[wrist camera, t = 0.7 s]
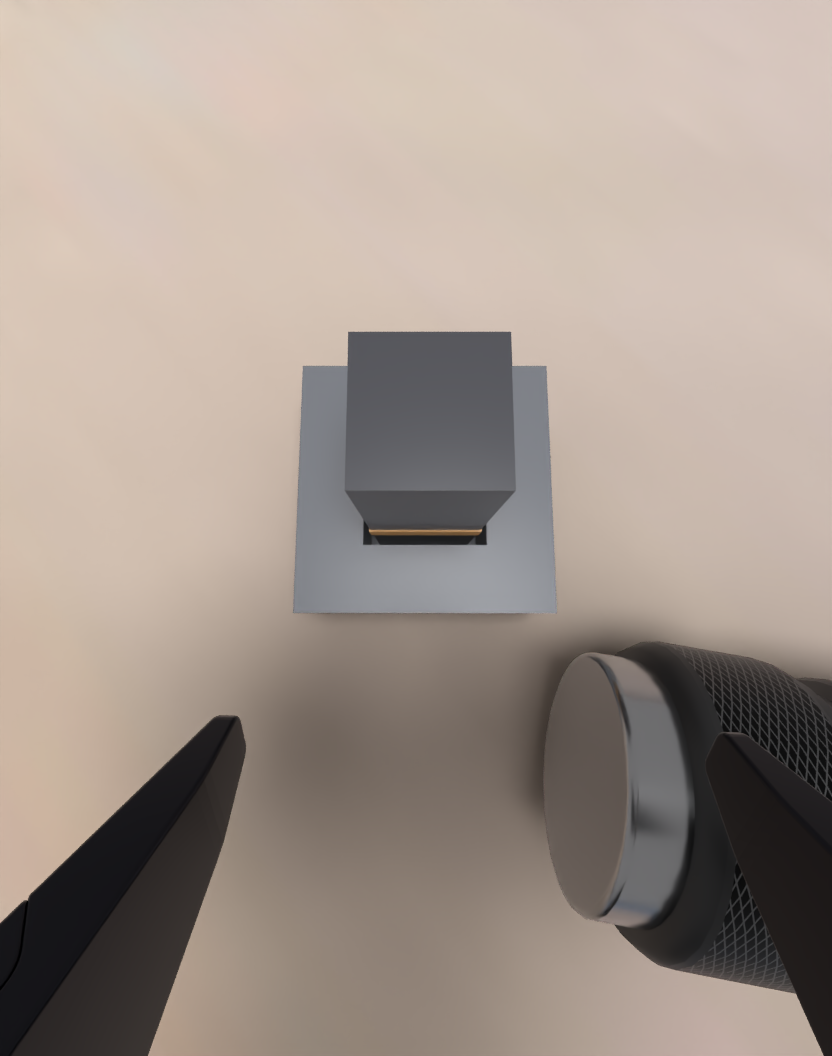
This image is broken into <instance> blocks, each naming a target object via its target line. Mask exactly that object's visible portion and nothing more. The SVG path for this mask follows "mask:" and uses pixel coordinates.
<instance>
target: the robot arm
mask: <svg viewBox="0 0 832 1056" xmlns="http://www.w3.org/2000/svg"><path fill="white" fill-rule="evenodd" d="M245 752H246V743H245V739H244V734H243V730H242V725H241V721H240V719H239V717H238V716H230V715H219V716H216V717H214V718H213V719H212V720H211V721H210V722H209V723H208V724H207V725H206V726H205V727H203V728H202V729H201V730H200V731H199V732H198V733H197V734H196V735H195V736H194V737H193V738H192V739H191V740H190V741H189V742H188V743H187V744H186V745H185V746H184V747H183V748H182V749H181V750H180V751H179V752H178V753H177V754H175V755H174V756H173V757H172V758H171V759H170V760H169V761H168V762H167V763H166V764H165V765H164V766H163V767H162V768H161V769H160V770H159V771H158V772H157V773H156V774H155V775H154V776H153V777H152V778H151V779H150V780H149V781H147V782H146V783H145V784H144V785H143V786H142V787H141V788H140V789H139V790H138V791H137V792H136V793H135V794H134V795H133V796H132V797H131V798H130V799H129V800H128V801H127V802H126V803H125V804H124V805H123V806H122V807H120V808H119V809H118V810H117V811H116V812H115V813H114V814H113V815H112V816H111V817H110V818H109V819H108V820H107V821H106V822H105V823H104V824H103V825H102V826H101V827H100V828H99V829H98V830H97V831H96V832H95V833H94V834H92V835H91V836H90V837H89V838H88V839H87V840H86V841H85V842H84V843H83V844H82V845H81V846H80V847H79V848H78V849H77V850H76V851H75V852H74V853H73V854H72V855H71V856H70V857H69V858H68V859H67V860H66V861H64V862H63V863H62V864H61V865H60V866H59V867H58V868H57V869H56V870H55V871H54V872H53V873H52V874H51V875H50V876H49V877H48V878H47V879H46V880H45V881H44V882H43V883H42V884H41V885H40V886H39V887H37V888H36V889H35V890H34V891H33V892H32V893H31V894H30V896H29V898H28V901H27V900H25V901H23V902H22V903H21V904H20V905H19V906H18V907H16V908H15V909H14V910H13V911H12V912H11V913H10V914H9V915H8V916H7V917H6V918H5V919H4V920H3V921H2V922H1V923H0V1056H148V1054H149V1051H150V1048H151V1045H152V1042H153V1040H154V1037H155V1034H156V1031H157V1028H158V1026H159V1023H160V1020H161V1017H162V1014H163V1012H164V1009H165V1006H166V1003H167V1000H168V998H169V995H170V992H171V989H172V986H173V984H174V981H175V978H176V975H177V972H178V969H179V967H180V964H181V961H182V958H183V955H184V953H185V950H186V947H187V944H188V941H189V939H190V936H191V933H192V930H193V927H194V925H195V922H196V919H197V916H198V913H199V911H200V908H201V905H202V902H203V899H204V896H205V894H206V891H207V888H208V885H209V882H210V880H211V877H212V874H213V871H214V868H215V866H216V863H217V860H218V857H219V854H220V851H221V848H222V845H223V842H224V838H225V834H226V831H227V827H228V823H229V819H230V815H231V811H232V806H233V802H234V798H235V794H236V790H237V786H238V782H239V778H240V774H241V770H242V766H243V762H244V758H245ZM705 769H706V774H707V777H708V780H709V783H710V786H711V788H712V791H713V794H714V797H715V800H716V803H717V806H718V809H719V812H720V815H721V818H722V820H723V823H724V826H725V829H726V832H727V835H728V838H729V841H730V844H731V847H732V849H733V852H734V855H735V857H736V860H737V862H738V865H739V867H740V869H741V872H742V874H743V876H744V879H745V881H746V883H747V885H748V888H749V890H750V892H751V894H752V897H753V899H754V901H755V903H756V905H757V908H758V910H759V912H760V914H761V917H762V919H763V921H764V923H765V926H766V928H767V930H768V932H769V934H770V937H771V939H772V941H773V943H774V946H775V948H776V950H777V952H778V955H779V957H780V959H781V961H782V963H783V966H784V968H785V970H786V972H787V975H788V977H789V979H790V981H791V984H792V986H793V988H794V990H795V993H796V995H797V997H798V999H799V1001H800V1004H801V1006H802V1008H803V1010H804V1013H805V1015H806V1017H807V1019H808V1022H809V1024H810V1026H811V1028H812V1030H813V1033H814V1035H815V1037H816V1039H817V1042H818V1044H819V1046H820V1048H821V1051H822V1053H823V1055H824V1056H832V801H830V800H829V799H828V798H827V797H825V796H824V795H823V794H821V793H820V792H819V791H818V790H816V789H815V788H814V787H813V786H811V785H810V784H809V783H807V782H806V781H805V780H804V779H802V778H801V777H800V776H799V775H797V774H796V773H795V772H793V771H792V770H791V769H790V768H788V767H787V766H786V765H785V764H783V763H782V762H781V761H779V760H778V759H777V758H776V757H774V756H773V755H772V754H771V753H769V752H768V751H767V750H765V749H764V748H763V747H762V746H760V745H759V744H758V743H757V742H755V741H754V740H753V739H751V738H750V737H749V736H747V735H745V734H743V733H737V732H721V733H720V734H718V735H717V737H716V739H715V741H714V743H713V745H712V747H711V749H710V751H709V753H708V755H707V757H706V760H705Z"/></svg>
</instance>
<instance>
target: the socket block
mask: <svg viewBox="0 0 832 1056" xmlns="http://www.w3.org/2000/svg"><path fill="white" fill-rule="evenodd" d="M347 371H348V366H303V378H302V404H301V429H300V455H299V480H298V505H297V531H296V556H295V581H294V607H293V613H557V604H556V580H555V557H554V534H553V511H552V487H551V464H550V441H549V418H548V394H547V371H546V366H512V380H513V412H514V444H515V476H516V491H515V492H514V493H513V495H512V496H511V497H510V498H509V499H508V500H507V501H506V502H505V503H504V505H503V506H502V507H501V508H500V509H499V510H498V511H497V512H496V513H495V515H494V516H493V517H492V518H491V519H490V520H489V521H488V522H487V523H486V525H485V526H484V527H483V528H482V532H481V533H480V534H479V535H476V536H475V537H474V538H473V539H472V540H471V541H470V542H469V544H468V545H380V544H379V542H378V541H377V539H376V538H375V536H374V535H371V534H370V532H369V527H368V526H367V524H366V523H365V521H364V519H363V518H362V516H361V515H360V513H359V512H358V510H357V509H356V507H355V506H354V504H353V503H352V501H351V500H350V498H349V497H348V495H347V493H346V492H345V454H346V413H347Z"/></svg>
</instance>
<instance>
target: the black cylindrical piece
mask: <svg viewBox="0 0 832 1056" xmlns="http://www.w3.org/2000/svg"><path fill="white" fill-rule="evenodd" d="M721 732H737V733H743V734H745V735H747V736H749V737H750V738H751V739H753V740H754V741H755V742H757V743H758V744H759V745H760V746H762V747H763V748H764V749H765V750H767V751H768V752H769V753H771V754H772V755H773V756H774V757H776V758H777V759H778V760H779V761H781V762H782V763H783V764H785V765H786V766H787V767H788V768H790V769H791V770H792V771H793V772H795V773H796V774H797V775H799V776H800V777H801V778H802V779H804V780H805V781H806V782H807V783H809V784H810V785H811V786H813V787H814V788H815V789H816V790H818V791H819V792H820V793H821V794H823V795H824V796H825V797H827V798H828V799H829V800H830V801H832V681H830V680H825V679H813V678H801V679H794V678H793V677H791V676H790V675H788V674H786V673H785V672H783V671H781V670H780V669H778V668H777V667H775V666H773V665H771V664H768V663H765V662H761V661H758V660H755V659H752V658H748V657H742V656H737V655H731V654H725V653H720V652H714V651H708V650H703V649H697V648H691V647H686V646H680V645H674V644H669V643H663V642H642V643H639V644H636V645H634V646H632V647H629V648H627V649H625V650H622V651H620V652H618V653H617V654H616V655H615V656H613V655H608V654H602V653H596V652H587V653H583V654H581V655H580V656H578V657H576V658H575V659H574V660H573V661H572V662H571V663H570V664H569V666H568V668H567V669H566V671H565V673H564V674H563V676H562V679H561V681H560V684H559V686H558V688H557V691H556V694H555V697H554V701H553V704H552V708H551V712H550V716H549V721H548V727H547V734H546V741H545V752H544V771H543V793H544V811H545V822H546V830H547V838H548V843H549V849H550V854H551V859H552V863H553V866H554V870H555V873H556V877H557V880H558V882H559V885H560V887H561V890H562V892H563V895H564V896H565V898H566V899H567V901H568V903H569V904H570V906H571V907H572V908H573V909H574V910H575V911H576V912H577V913H579V914H580V915H581V916H582V917H584V918H585V919H589V920H594V921H599V922H604V923H609V924H614V925H615V926H616V928H617V929H618V930H619V932H620V933H621V934H622V935H623V936H624V937H625V938H626V939H627V940H628V941H629V942H630V943H631V944H632V945H633V946H634V947H635V948H636V949H637V950H639V951H640V952H641V953H642V954H644V955H645V956H646V957H647V958H649V959H650V960H651V961H653V962H654V963H656V964H658V965H660V966H663V967H667V968H670V969H674V970H678V971H683V972H688V973H693V974H698V975H703V976H708V977H714V978H719V979H724V980H729V981H734V982H739V983H744V984H749V985H754V986H760V987H765V988H770V989H775V990H780V991H785V992H790V993H795V990H794V988H793V986H792V984H791V981H790V979H789V977H788V975H787V972H786V970H785V968H784V966H783V963H782V961H781V959H780V957H779V955H778V952H777V950H776V948H775V946H774V943H773V941H772V939H771V937H770V934H769V932H768V930H767V928H766V926H765V923H764V921H763V919H762V917H761V914H760V912H759V910H758V908H757V905H756V903H755V901H754V899H753V897H752V894H751V892H750V890H749V888H748V885H747V883H746V881H745V879H744V876H743V874H742V872H741V869H740V867H739V865H738V862H737V860H736V857H735V855H734V852H733V849H732V847H731V844H730V841H729V838H728V835H727V832H726V829H725V826H724V823H723V820H722V818H721V815H720V812H719V809H718V806H717V803H716V800H715V797H714V794H713V791H712V788H711V786H710V783H709V780H708V777H707V774H706V769H705V760H706V757H707V755H708V753H709V751H710V749H711V747H712V745H713V743H714V741H715V739H716V737H717V735H718V734H720V733H721Z"/></svg>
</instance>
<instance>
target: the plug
mask: <svg viewBox="0 0 832 1056" xmlns="http://www.w3.org/2000/svg"><path fill="white" fill-rule="evenodd" d="M515 491H516V476H515V444H514V412H513V380H512V349H511V332H348V371H347V413H346V454H345V492H346V493H347V495H348V497H349V498H350V500H351V501H352V503H353V504H354V506H355V507H356V509H357V510H358V512H359V513H360V515H361V516H362V518H363V519H364V521H365V523H366V524H367V526H368V527H369V532H370V534H371V535H374V536H375V538H376V539H377V541H378V542H379V544H380V545H468V544H469V542H470V541H471V540H472V539H473V538H474V537H475V536H476V535H479V534H480V533H481V532H482V528H483V527H484V526H485V525H486V523H487V522H488V521H489V520H490V519H491V518H492V517H493V516H494V515H495V513H496V512H497V511H498V510H499V509H500V508H501V507H502V506H503V505H504V503H505V502H506V501H507V500H508V499H509V498H510V497H511V496H512V495H513V493H514V492H515Z"/></svg>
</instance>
